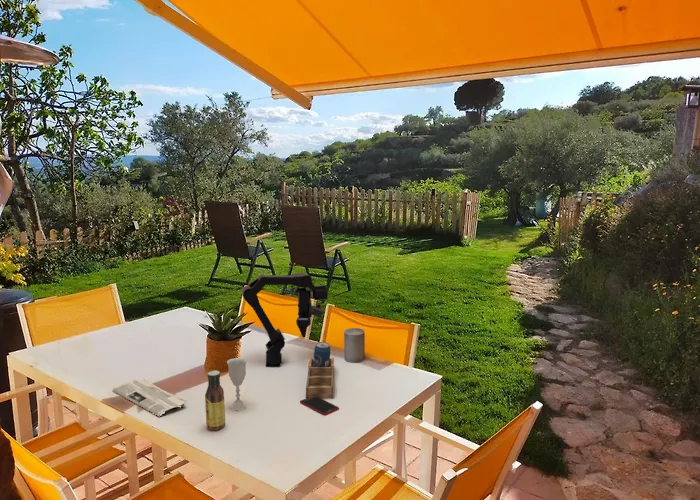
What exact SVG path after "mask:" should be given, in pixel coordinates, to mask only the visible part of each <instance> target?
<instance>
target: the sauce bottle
mask: <svg viewBox="0 0 700 500" xmlns="http://www.w3.org/2000/svg"><path fill="white" fill-rule="evenodd" d="M220 377H221V371H219V370H211V371H208V372H207V381H208V382H207V383H208V384H207V385H208V386H207V389H206V391H205V394H204V400H205V401H204V403H205V420H206V427H207V429H208V430H209V429H210V431H218V429H219V430H222V429H223V428H224V426H225V425H226V409H225V408H226V407H225V405H226V404H225V394H224V393H225V392H224V388H223V386H222V385H221V382H220V381H221V380H220V379H221V378H220ZM221 428H222V429H221Z"/></svg>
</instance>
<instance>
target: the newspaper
mask: <svg viewBox="0 0 700 500" xmlns="http://www.w3.org/2000/svg"><path fill="white" fill-rule="evenodd" d="M112 392H113V393H114V394H117V395H118V396H120V397H122V398H124V399H125V398H126V400H127V399H128V400H127V401H129V400H130V401H129V402H131V401H132V402H133V403H132V402H131V403H132V404H134V403H135V404H134V405H136V404H137V405H136V406H138V405H139V406H141V407H143V408H144V410H145V409H146V410H145V411H147V410H148V411H150V412H152V413H154V414H156V415H157V416H159V417H160V414H161V413H162V412H164V411H165V412H167V411H169V410H171V409H173V408H178V407H177V406H181V407H183V408H184V407H185V404H186V403H187V402H188V401H189V400H188V399H185V398H183V397H180V396H178V395H175V394H173V393H171V392H169V391H165V390H164V389H162V388H160V387H158V386H156V385H155V384H153V383H151V382H149V380H146V379H141V380H140V379H134V380H131V381H128V382H125V383H121V384H119V385H117V386H115V387H113V388H112ZM139 406H138V407H139ZM141 407H140V408H141ZM143 408H142V409H143ZM148 411H147V412H148ZM150 412H149V413H150ZM152 413H151V414H152ZM154 414H153V415H154ZM157 416H156V417H157Z"/></svg>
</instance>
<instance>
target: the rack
mask: <svg viewBox="0 0 700 500" xmlns="http://www.w3.org/2000/svg"><path fill="white" fill-rule="evenodd" d="M313 362H314V358H312V357H309V359H308V364H307V365H308V366H307V367H308V368H307V369H308V370H307V377H306V384H305V399H306V398H321V399H323V400H328V399H329V400H332V399H334V368H335V358H334V357H330V362H329V367H313Z"/></svg>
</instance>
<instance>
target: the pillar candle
mask: <svg viewBox="0 0 700 500" xmlns="http://www.w3.org/2000/svg"><path fill="white" fill-rule="evenodd" d="M365 332H366V331H365V330H364V329H363V328H359V327H350V328H347V329H344V330H343V336H344V337H343V344H344V347H343V350H344V351H343V352H344V355H343V356H344V358H343V360H344V361H346V362H348V363H352V364H354V363H355V364H356V363H357V364H358V363H361V362H364V361H365V357H366V352H365V351H366V350H365V346H366V345H365V344H366V343H365V337H366V335H365Z"/></svg>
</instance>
